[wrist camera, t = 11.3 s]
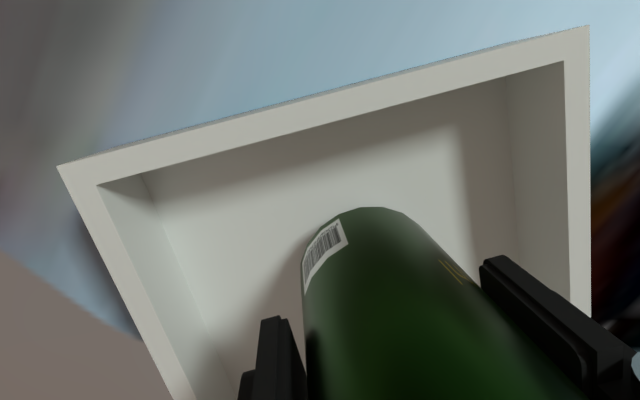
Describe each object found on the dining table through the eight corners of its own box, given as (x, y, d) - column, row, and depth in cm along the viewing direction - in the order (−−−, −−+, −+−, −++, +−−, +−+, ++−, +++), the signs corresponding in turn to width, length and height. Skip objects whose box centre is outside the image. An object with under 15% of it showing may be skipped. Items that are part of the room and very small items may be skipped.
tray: (507, 42, 14) (589, 24, 10) (528, 325, 18) (591, 386, 15) (119, 145, 14) (56, 166, 10) (232, 406, 18) (218, 489, 14)
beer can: (277, 289, 15) (237, 1005, 3) (338, 177, 13) (627, 681, 2) (385, 333, 16) (643, 975, 4) (451, 233, 15) (1051, 760, 3)
